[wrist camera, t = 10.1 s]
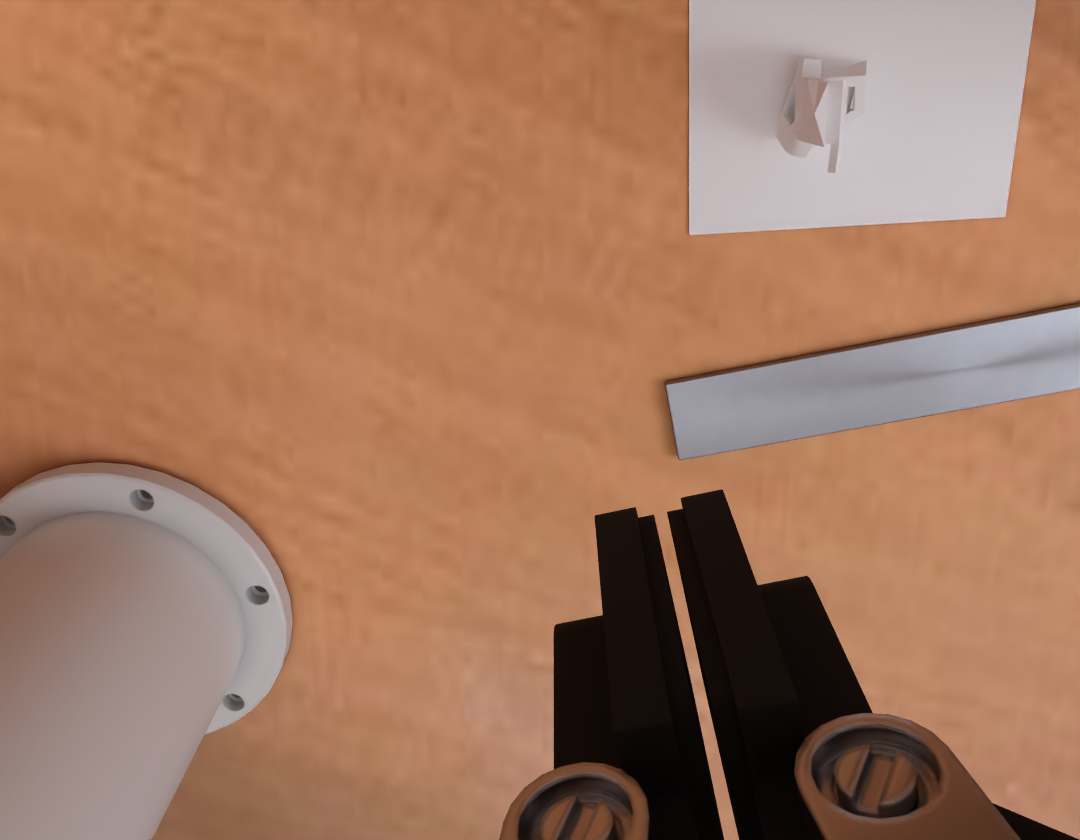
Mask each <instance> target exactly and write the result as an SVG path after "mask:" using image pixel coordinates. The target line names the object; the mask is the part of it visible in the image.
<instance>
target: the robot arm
mask: <svg viewBox="0 0 1080 840" xmlns="http://www.w3.org/2000/svg"><path fill="white" fill-rule="evenodd" d="M681 502H682V507H683V509H679V510H674V511H669V512H667V514H668V519H669V523H670V528H671V533H672V537H673V542H674V547H675V551H676V556H677V561H678V565H679V570H680V575H681V579H682V584H683V589H684V593H685V598H686V603H687V607H688V612H689V617H690V621H691V626H692V631H693V635H694V640H695V644H696V649H697V654H698V658H699V663H700V668H701V672H702V677H703V682H704V686H705V691H706V695H707V700H708V704H709V709H710V713H711V717H712V722H713V726H714V731H715V735H716V739H717V744H718V748H719V753H720V757H721V761H722V766H723V770H724V774H725V779H726V783H727V788H728V792H729V796H730V801H731V805H732V810H733V814H734V818H735V823H736V827H737V832H738V836H739V840H1079V839H1076V838H1074V837H1072V836H1069V835H1067V834H1065V833H1062V832H1060V831H1057V830H1055V829H1053V828H1050V827H1048V826H1046V825H1043V824H1041V823H1038V822H1036V821H1034V820H1031V819H1029V818H1026V817H1024V816H1022V815H1019V814H1017V813H1015V812H1012V811H1010V810H1007V809H1005V808H1003V807H1000V806H998V805H996V804H993V803H992V802H991V801H990V800H989V798H988V797H987V796H986V795H985V793H984V792H983V791H982V789H981V788H980V787H979V786H978V784H977V783H976V782H975V780H974V779H973V778H972V777H971V775H970V774H969V773H968V772H967V770H966V769H965V768H964V766H963V765H962V764H961V763H960V761H959V760H958V759H957V757H956V756H955V755H954V754H953V752H952V751H951V750H950V749H949V747H948V746H947V745H946V744H945V743H944V742H942V741H941V740H940V739H939V738H938V737H937V736H936V735H935V734H934V733H933V732H932V731H930V730H928V729H926V728H924V727H922V726H920V725H919V724H917V723H915V722H913V721H911V720H907V719H904V718H900V717H896V716H892V715H889V714H873V713H872V711H871V709H870V706H869V704H868V702H867V700H866V698H865V696H864V693H863V691H862V689H861V687H860V685H859V683H858V680H857V678H856V676H855V674H854V672H853V670H852V667H851V665H850V663H849V661H848V659H847V657H846V654H845V652H844V650H843V648H842V646H841V644H840V641H839V639H838V637H837V635H836V633H835V631H834V628H833V626H832V624H831V622H830V620H829V618H828V615H827V613H826V611H825V609H824V607H823V605H822V602H821V600H820V598H819V596H818V594H817V592H816V589H815V587H814V585H813V583H812V581H811V580H810V578H809V577H808V576H804V577H798V578H793V579H788V580H783V581H778V582H772V583H767V584H762V585H757V583H756V580H755V577H754V575H753V572H752V569H751V566H750V564H749V561H748V558H747V555H746V553H745V550H744V547H743V544H742V542H741V539H740V536H739V533H738V531H737V528H736V525H735V522H734V519H733V517H732V514H731V511H730V508H729V506H728V503H727V500H726V497H725V495H724V492H723V490H717V491H712V492H707V493H702V494H697V495H692V496H688V497H683V498H681ZM595 526H596V538H597V550H598V562H599V574H600V585H601V597H602V609H603V615H602V616H597V617H592V618H586V619H581V620H576V621H571V622H566V623H560V624H556V625H555V627H554V770H552V771H550V772H547V773H545V774H543V775H541V776H540V777H538V778H537V779H536V780H534V781H533V782H532V783H530V784H529V785H528V786H526V787H525V788H524V789H523V790H522V791H521V793H520V794H519V795H518V796H517V797H516V799H515V800H514V801H513V802H512V804H511V805H510V808H509V810H508V813H507V815H506V817H505V820H504V822H503V826H502V830H501V835H500V839H499V840H724V837H723V832H722V827H721V823H720V818H719V813H718V808H717V803H716V799H715V794H714V789H713V784H712V779H711V775H710V770H709V765H708V760H707V756H706V751H705V746H704V741H703V736H702V732H701V727H700V722H699V717H698V712H697V708H696V703H695V698H694V694H693V689H692V684H691V680H690V675H689V671H688V666H687V662H686V657H685V653H684V648H683V644H682V639H681V635H680V630H679V626H678V621H677V617H676V612H675V608H674V603H673V598H672V594H671V589H670V585H669V580H668V576H667V571H666V567H665V562H664V558H663V553H662V549H661V544H660V540H659V535H658V531H657V526H656V522H655V517H654V515H650V516H645V517H640V518H638V515H637V511H636V507H634V508H629V509H624V510H619V511H615V512H610V513H605V514H600V515H595ZM292 625H293V620H292V611H291V602H290V596H289V593H288V590H287V587H286V584H285V581H284V578H283V575H282V572H281V570H280V569H279V567H278V565H277V564H276V562H275V560H274V558H273V557H272V555H271V553H270V551H269V550H268V548H267V546H266V545H265V544H264V543H263V542H262V541H261V539H260V538H259V537H258V536H257V535H256V533H255V532H254V531H253V530H252V529H251V528H250V526H249V525H248V524H247V523H246V522H245V521H243V520H242V519H241V518H240V517H239V516H238V515H236V514H235V513H234V512H233V511H232V510H230V509H229V508H228V507H227V506H226V505H225V504H223V503H222V502H220V501H219V500H217V499H216V498H214V497H212V496H211V495H209V494H207V493H206V492H204V491H202V490H201V489H199V488H197V487H196V486H194V485H192V484H189V483H187V482H184V481H182V480H180V479H177V478H175V477H172V476H170V475H168V474H165V473H163V472H159V471H154V470H150V469H146V468H142V467H138V466H134V465H128V464H115V463H102V462H95V463H84V464H74V465H66V466H62V467H59V468H56V469H52V470H49V471H46V472H42V473H39V474H37V475H35V476H33V477H31V478H30V479H28V480H26V481H24V482H22V483H21V484H19V485H17V486H15V487H14V488H13V489H11V490H10V491H9V492H8V493H7V494H6V495H4V496H3V497H2V498H1V499H0V840H152V838H153V836H154V834H155V832H156V830H157V828H158V826H159V824H160V822H161V820H162V818H163V816H164V814H165V812H166V810H167V808H168V806H169V804H170V802H171V800H172V798H173V796H174V794H175V792H176V790H177V788H178V786H179V784H180V782H181V780H182V778H183V776H184V774H185V772H186V770H187V768H188V766H189V764H190V762H191V760H192V758H193V756H194V754H195V752H196V750H197V748H198V747H199V745H200V743H201V741H202V739H203V737H204V735H205V734H208V733H212V732H214V731H216V730H218V729H221V728H223V727H225V726H228V725H230V724H232V723H234V722H236V721H237V720H238V719H240V718H241V717H243V716H244V715H245V714H247V713H248V712H250V711H251V710H253V709H254V708H255V707H256V706H257V705H258V703H259V702H260V701H261V700H262V699H263V698H264V697H265V696H266V694H267V693H268V692H269V691H270V689H271V687H272V686H273V684H274V682H275V680H276V678H277V676H278V674H279V672H280V671H281V668H282V665H283V663H284V660H285V658H286V655H287V652H288V650H289V647H290V641H291V633H292Z"/></svg>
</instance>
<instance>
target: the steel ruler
mask: <svg viewBox="0 0 1080 840" xmlns="http://www.w3.org/2000/svg"><path fill="white" fill-rule="evenodd" d="M665 386H666V392H667V397H668V403H669V409H670V414H671V420H672V426H673V431H674V437H675V442H676V448H677V454H678V459H679V460H684V459H690V458H695V457H701V456H707V455H712V454H718V453H723V452H729V451H734V450H740V449H746V448H751V447H757V446H762V445H768V444H773V443H779V442H785V441H790V440H796V439H801V438H807V437H812V436H818V435H824V434H829V433H835V432H840V431H846V430H852V429H857V428H863V427H868V426H874V425H879V424H885V423H891V422H896V421H902V420H907V419H913V418H918V417H924V416H930V415H935V414H941V413H946V412H952V411H957V410H963V409H969V408H974V407H980V406H985V405H991V404H997V403H1002V402H1008V401H1013V400H1019V399H1024V398H1030V397H1036V396H1041V395H1047V394H1052V393H1058V392H1063V391H1069V390H1075V389H1080V303H1079V304H1073V305H1068V306H1063V307H1057V308H1052V309H1047V310H1042V311H1036V312H1031V313H1026V314H1021V315H1015V316H1010V317H1005V318H999V319H994V320H989V321H984V322H978V323H973V324H968V325H963V326H957V327H952V328H947V329H942V330H936V331H931V332H926V333H920V334H915V335H910V336H905V337H899V338H894V339H889V340H884V341H878V342H873V343H868V344H863V345H857V346H852V347H847V348H841V349H836V350H831V351H826V352H820V353H815V354H810V355H805V356H799V357H794V358H789V359H784V360H778V361H773V362H768V363H762V364H757V365H752V366H747V367H741V368H736V369H731V370H726V371H720V372H715V373H710V374H705V375H699V376H694V377H689V378H683V379H678V380H673V381H668V382H665Z"/></svg>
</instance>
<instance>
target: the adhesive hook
mask: <svg viewBox="0 0 1080 840" xmlns="http://www.w3.org/2000/svg"><path fill="white" fill-rule="evenodd" d="M867 66H868V60H867V59H865V60H862V61H859V62H856V63H852V64H849V65H846V66H843V67H840V68H837V69H833V70H830V71H827V72H824V73H822V58H821V57H816V56H804V55H799V56H798V60H797V66H796V71H795V75H794V78H793V80H792V83H791V86H790V88H789V91H788V94H787V97H786V99H785V102H784V105H783V107H782V110H781V113H780V116H779V119H778V125H777V130H776V136H775V138H776V139H777V141H778V142H779V144H780V146H781V147H782V149H783V150H784V151H785V152H786V153H787V154H788V155H790V156H792V157H797V158H802V159H806V158H807V156H808V155H809V153H810V152H811V150H812V149H813V147H814V146H817V147H821V148H825V147H826V145H830V149H829V156H828V163H827V171H826V172H827V173H830V174H838V173H839V169H840V162H841V155H842V148H843V143H844V142H845V140H846V126H847V124H849V123H851V122H852V121H854V120H856V119H858V118H860V117H862V116H863V115H864V114H865V111H866V82H867Z"/></svg>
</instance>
